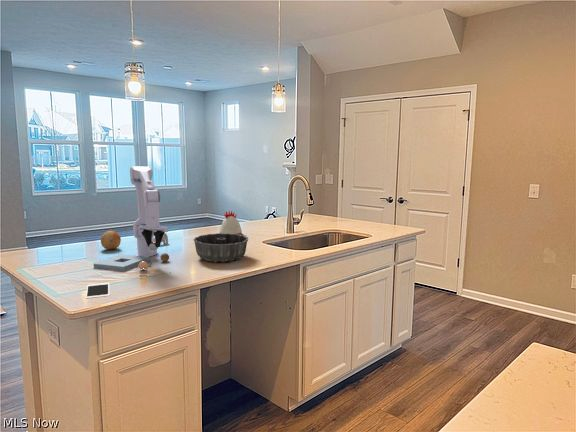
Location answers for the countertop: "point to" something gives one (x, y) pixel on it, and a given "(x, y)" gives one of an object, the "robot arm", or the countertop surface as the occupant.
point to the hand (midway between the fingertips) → (153, 246)
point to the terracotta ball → (143, 265)
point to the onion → (110, 240)
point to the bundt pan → (221, 247)
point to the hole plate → (121, 262)
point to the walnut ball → (164, 257)
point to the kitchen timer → (230, 225)
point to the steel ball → (153, 246)
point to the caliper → (164, 239)
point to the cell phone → (97, 290)
